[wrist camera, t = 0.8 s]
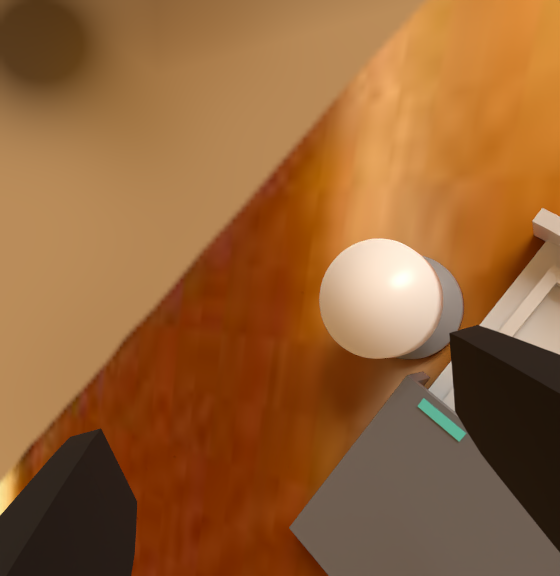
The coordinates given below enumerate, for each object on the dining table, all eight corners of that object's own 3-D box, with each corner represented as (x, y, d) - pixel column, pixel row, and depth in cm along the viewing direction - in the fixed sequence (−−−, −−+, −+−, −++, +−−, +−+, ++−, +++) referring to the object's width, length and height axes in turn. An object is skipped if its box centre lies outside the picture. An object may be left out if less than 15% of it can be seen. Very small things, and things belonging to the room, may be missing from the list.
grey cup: (487, 294, 24) (475, 285, 20) (420, 380, 26) (396, 387, 22) (398, 237, 27) (372, 219, 23) (341, 317, 28) (308, 313, 24)
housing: (671, 570, 19) (693, 610, 16) (506, 724, 22) (499, 783, 19) (422, 371, 26) (406, 375, 23) (315, 509, 28) (287, 528, 25)
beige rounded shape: (468, 286, 20) (463, 282, 19) (395, 381, 22) (385, 384, 20) (373, 224, 23) (362, 216, 22) (313, 312, 24) (299, 310, 23)
